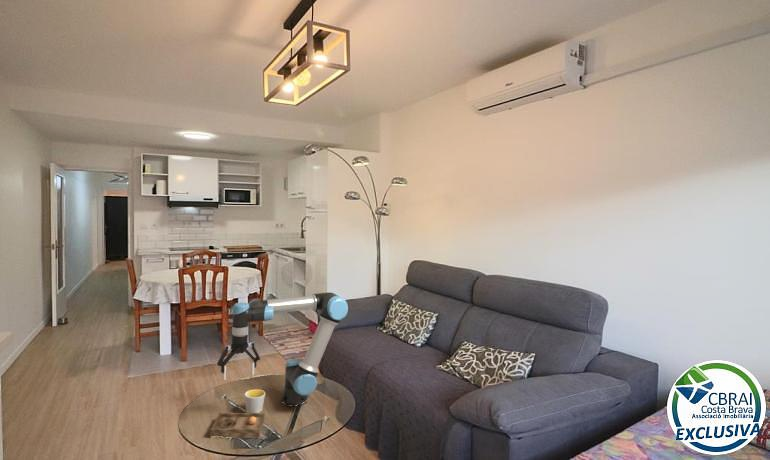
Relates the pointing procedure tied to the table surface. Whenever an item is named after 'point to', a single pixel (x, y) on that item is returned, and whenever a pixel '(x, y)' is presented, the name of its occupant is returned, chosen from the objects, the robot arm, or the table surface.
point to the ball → (252, 420)
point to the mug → (254, 400)
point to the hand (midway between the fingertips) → (238, 376)
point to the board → (237, 425)
